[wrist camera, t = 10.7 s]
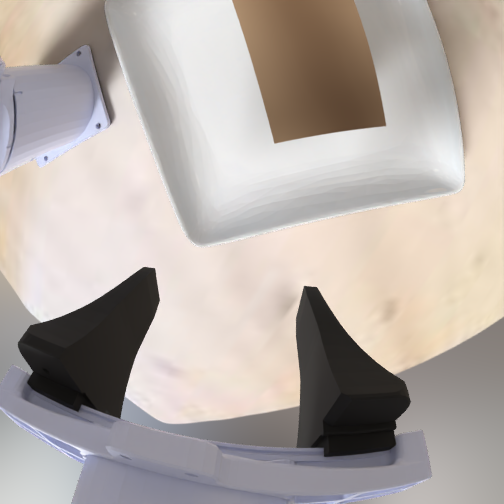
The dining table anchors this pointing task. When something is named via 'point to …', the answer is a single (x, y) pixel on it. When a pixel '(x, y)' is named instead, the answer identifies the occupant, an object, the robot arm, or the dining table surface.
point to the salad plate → (258, 129)
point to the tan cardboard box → (311, 66)
